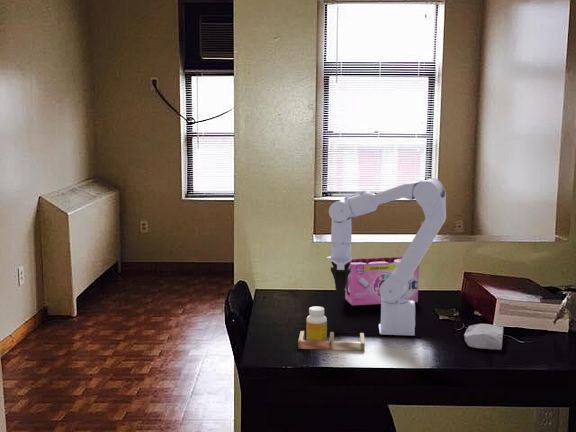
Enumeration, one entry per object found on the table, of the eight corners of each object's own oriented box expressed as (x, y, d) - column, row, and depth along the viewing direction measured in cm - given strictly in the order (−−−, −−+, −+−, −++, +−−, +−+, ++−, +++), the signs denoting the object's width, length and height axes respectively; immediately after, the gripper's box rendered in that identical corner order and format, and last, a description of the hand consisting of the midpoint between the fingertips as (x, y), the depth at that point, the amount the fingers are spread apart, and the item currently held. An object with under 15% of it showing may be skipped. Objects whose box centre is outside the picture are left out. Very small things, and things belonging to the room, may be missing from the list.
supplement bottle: (325, 348, 165) (325, 312, 163) (304, 346, 166) (304, 310, 164) (328, 341, 170) (328, 306, 169) (308, 339, 171) (308, 304, 170)
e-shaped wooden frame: (363, 340, 171) (363, 333, 170) (364, 350, 163) (364, 343, 163) (300, 338, 172) (300, 330, 172) (298, 348, 164) (298, 341, 164)
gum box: (347, 306, 202) (348, 264, 200) (340, 299, 210) (341, 259, 207) (418, 302, 207) (419, 261, 205) (409, 295, 214) (410, 256, 212)
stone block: (465, 354, 166) (505, 351, 163) (462, 336, 166) (502, 332, 163) (468, 340, 178) (505, 337, 174) (465, 324, 177) (502, 320, 174)
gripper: (327, 237, 189) (327, 281, 191) (326, 247, 174) (325, 295, 176) (351, 237, 188) (351, 282, 190) (352, 247, 174) (351, 295, 176)
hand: (340, 288), depth 183 cm, fingers open, 7 cm apart
